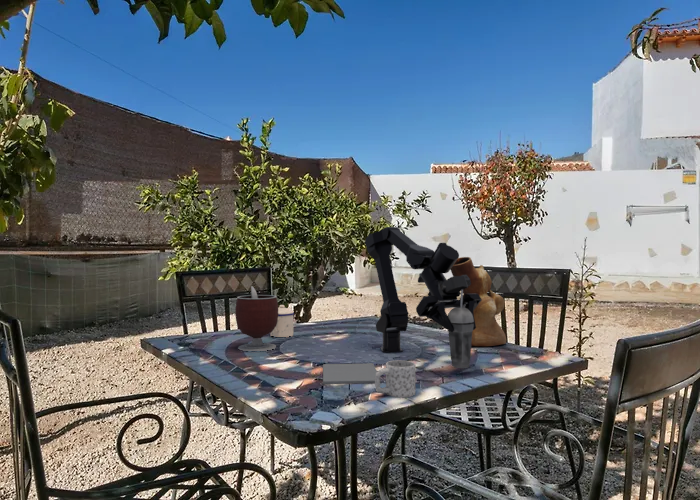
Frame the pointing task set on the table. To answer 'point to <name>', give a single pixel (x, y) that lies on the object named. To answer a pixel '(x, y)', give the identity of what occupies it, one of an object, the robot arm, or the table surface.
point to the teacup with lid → (283, 323)
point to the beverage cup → (461, 335)
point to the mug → (397, 379)
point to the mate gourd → (256, 319)
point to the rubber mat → (349, 373)
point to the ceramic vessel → (482, 303)
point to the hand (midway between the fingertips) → (463, 330)
